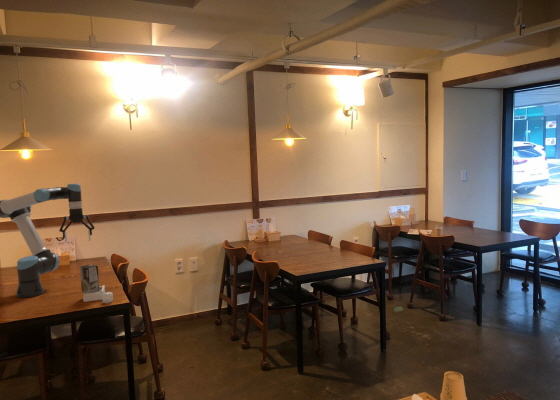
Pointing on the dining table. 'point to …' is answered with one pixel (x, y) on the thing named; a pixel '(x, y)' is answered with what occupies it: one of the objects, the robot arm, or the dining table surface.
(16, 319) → the dining table surface
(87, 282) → the coffee box
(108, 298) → the white rounded block
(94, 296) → the white open box
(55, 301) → the dining table surface
